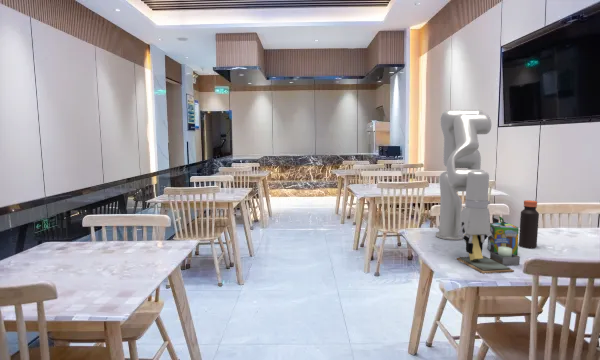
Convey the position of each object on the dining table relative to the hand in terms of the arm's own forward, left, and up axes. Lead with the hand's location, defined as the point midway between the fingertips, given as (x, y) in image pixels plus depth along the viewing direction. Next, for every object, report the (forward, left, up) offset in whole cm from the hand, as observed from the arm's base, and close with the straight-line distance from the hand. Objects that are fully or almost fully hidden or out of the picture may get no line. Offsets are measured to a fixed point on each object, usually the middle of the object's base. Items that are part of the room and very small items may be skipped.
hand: (473, 252), depth 142 cm
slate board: (+3, +2, -4) cm, 6 cm away
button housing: (+1, +12, -4) cm, 13 cm away
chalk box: (-11, +20, -4) cm, 23 cm away
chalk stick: (+2, 0, -2) cm, 3 cm away
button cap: (+1, +12, -3) cm, 12 cm away
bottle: (-17, +37, -4) cm, 41 cm away
